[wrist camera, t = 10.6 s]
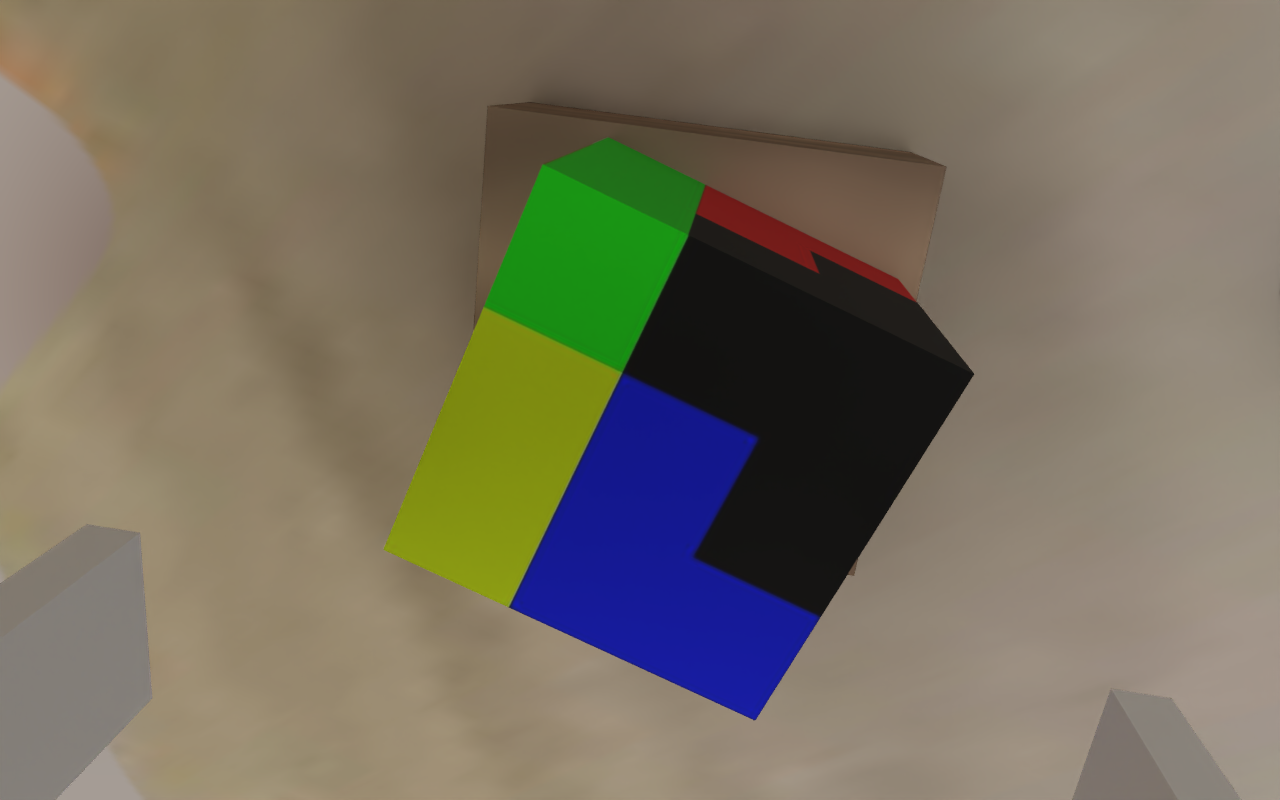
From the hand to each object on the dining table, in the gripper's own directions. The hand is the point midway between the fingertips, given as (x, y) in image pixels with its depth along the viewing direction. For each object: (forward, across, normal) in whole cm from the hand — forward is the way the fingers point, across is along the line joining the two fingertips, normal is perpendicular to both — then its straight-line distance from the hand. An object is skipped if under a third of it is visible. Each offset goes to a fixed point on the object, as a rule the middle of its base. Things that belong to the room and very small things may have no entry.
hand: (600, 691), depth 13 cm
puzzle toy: (+19, 0, 0) cm, 19 cm away
